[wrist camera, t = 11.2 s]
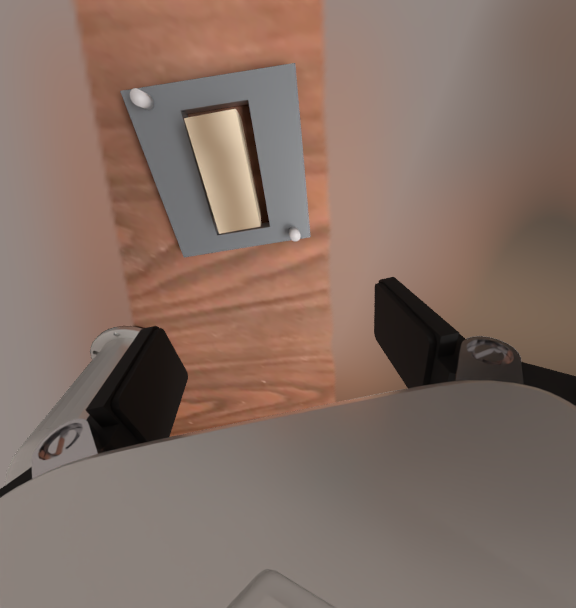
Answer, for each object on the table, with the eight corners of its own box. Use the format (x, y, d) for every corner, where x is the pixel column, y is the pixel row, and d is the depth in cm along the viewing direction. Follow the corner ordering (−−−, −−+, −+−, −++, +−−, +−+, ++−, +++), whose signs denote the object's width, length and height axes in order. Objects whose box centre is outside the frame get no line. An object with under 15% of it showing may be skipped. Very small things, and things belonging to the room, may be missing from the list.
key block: (241, 117, 26) (235, 108, 21) (261, 214, 31) (260, 226, 26) (199, 125, 26) (183, 118, 21) (226, 220, 31) (219, 233, 26)
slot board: (307, 231, 33) (313, 241, 29) (189, 250, 33) (179, 263, 29) (292, 71, 24) (297, 55, 20) (132, 96, 24) (108, 85, 20)
